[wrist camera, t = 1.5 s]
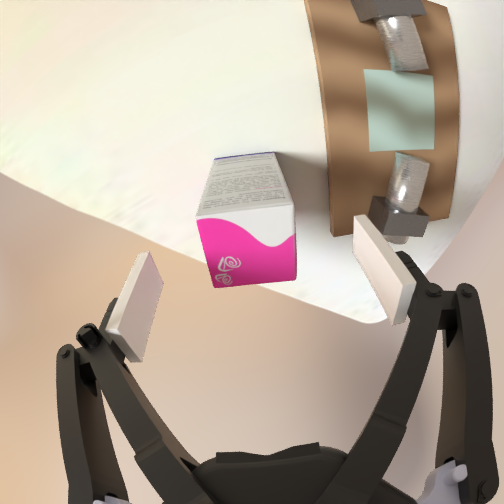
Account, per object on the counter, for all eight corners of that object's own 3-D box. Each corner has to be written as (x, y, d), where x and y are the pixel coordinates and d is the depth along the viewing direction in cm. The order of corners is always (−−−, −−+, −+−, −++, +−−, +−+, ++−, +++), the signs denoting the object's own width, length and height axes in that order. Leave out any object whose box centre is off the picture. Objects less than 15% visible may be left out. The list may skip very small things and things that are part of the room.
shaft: (382, 148, 23) (402, 159, 20) (422, 156, 23) (443, 169, 20) (365, 225, 28) (379, 244, 24) (403, 227, 28) (419, 245, 25)
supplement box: (211, 158, 24) (193, 214, 15) (275, 150, 24) (301, 200, 15) (221, 213, 28) (213, 291, 18) (279, 206, 27) (302, 281, 18)
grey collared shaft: (345, -10, 14) (361, -21, 11) (391, -11, 13) (412, -19, 10) (377, 72, 18) (399, 73, 15) (420, 66, 18) (443, 68, 14)
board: (300, -15, 14) (303, -20, 13) (440, 8, 14) (447, 7, 12) (330, 231, 29) (334, 238, 28) (443, 213, 28) (449, 218, 27)
